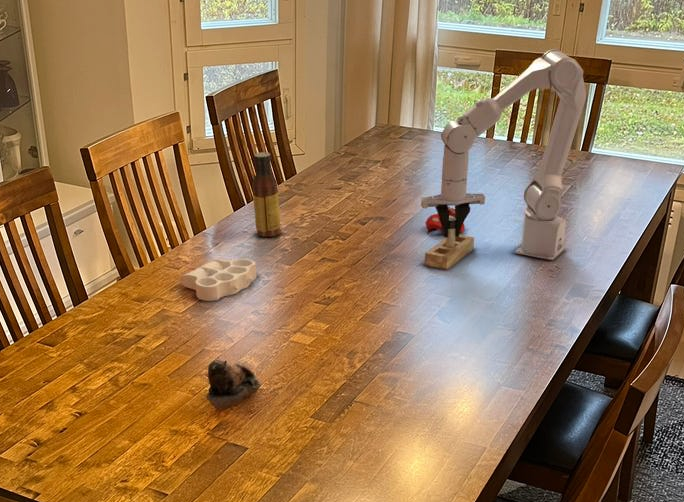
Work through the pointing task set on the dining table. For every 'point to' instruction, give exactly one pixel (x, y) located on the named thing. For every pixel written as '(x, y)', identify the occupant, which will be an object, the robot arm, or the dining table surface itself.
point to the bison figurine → (230, 384)
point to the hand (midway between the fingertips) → (450, 235)
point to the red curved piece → (435, 222)
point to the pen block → (449, 252)
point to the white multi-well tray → (220, 278)
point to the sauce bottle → (265, 197)
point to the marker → (451, 233)
